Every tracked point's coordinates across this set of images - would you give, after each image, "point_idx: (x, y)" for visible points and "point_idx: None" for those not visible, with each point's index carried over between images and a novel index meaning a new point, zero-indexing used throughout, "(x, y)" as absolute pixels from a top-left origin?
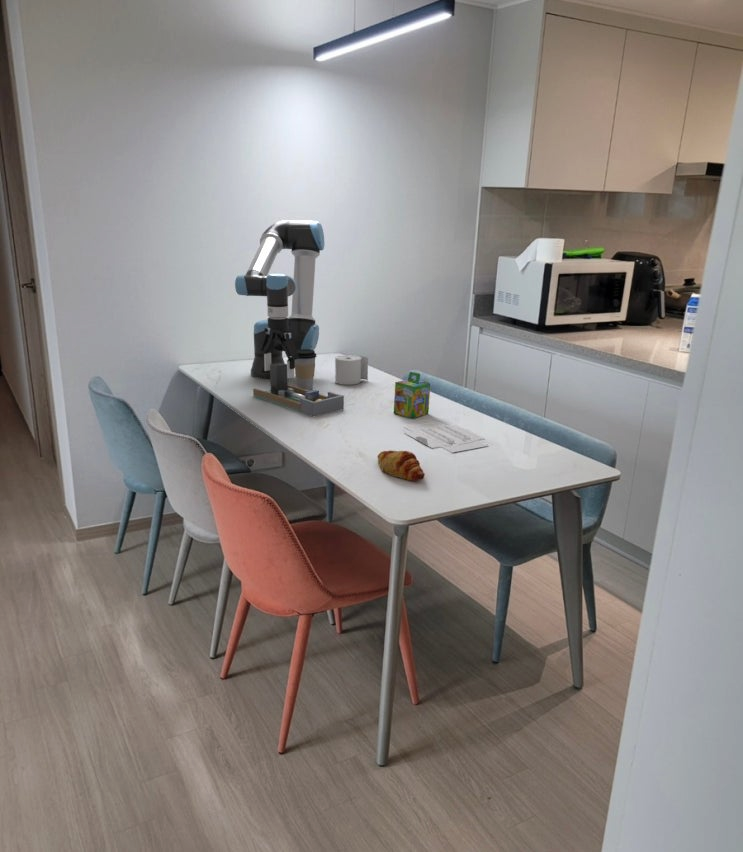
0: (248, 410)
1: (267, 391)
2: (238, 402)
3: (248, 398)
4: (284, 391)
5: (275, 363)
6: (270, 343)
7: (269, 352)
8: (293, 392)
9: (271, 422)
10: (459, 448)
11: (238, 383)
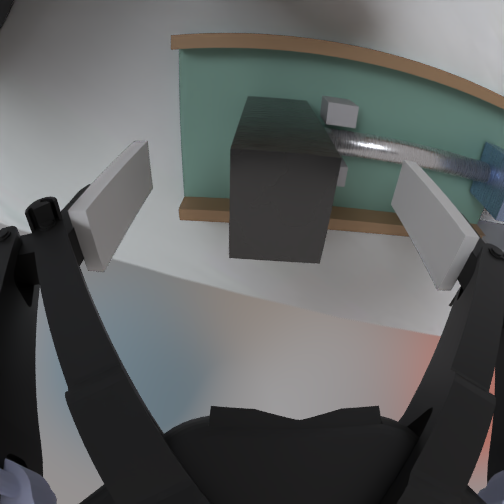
0: (321, 305)
1: (193, 139)
2: (224, 278)
3: (202, 230)
4: (347, 167)
5: (231, 208)
6: (136, 390)
7: (58, 211)
8: (395, 154)
9: (432, 319)
10: None
11: (6, 141)
